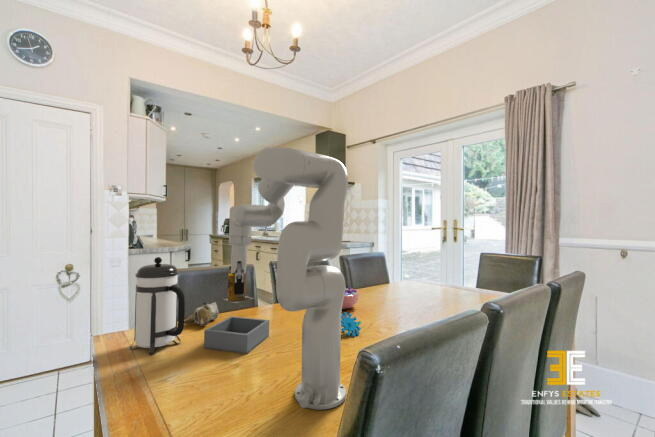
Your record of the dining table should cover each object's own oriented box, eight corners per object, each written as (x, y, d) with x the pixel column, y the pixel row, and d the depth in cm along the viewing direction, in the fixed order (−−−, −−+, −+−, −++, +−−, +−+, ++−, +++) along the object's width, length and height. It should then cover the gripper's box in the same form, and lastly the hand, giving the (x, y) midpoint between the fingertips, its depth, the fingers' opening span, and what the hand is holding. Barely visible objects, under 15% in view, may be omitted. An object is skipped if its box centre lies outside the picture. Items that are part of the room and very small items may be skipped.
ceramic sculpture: (225, 299, 132) (201, 310, 118) (226, 318, 132) (202, 332, 118) (205, 297, 135) (179, 308, 121) (205, 316, 135) (180, 329, 121)
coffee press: (120, 359, 92) (123, 260, 93) (138, 340, 108) (140, 255, 108) (183, 353, 97) (185, 259, 97) (191, 335, 112) (193, 254, 113)
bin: (247, 354, 97) (247, 335, 97) (203, 348, 101) (204, 330, 101) (269, 336, 113) (269, 320, 113) (230, 331, 117) (231, 316, 117)
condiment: (222, 299, 107) (223, 265, 107) (244, 295, 113) (244, 263, 113) (233, 303, 102) (234, 268, 102) (255, 299, 108) (255, 265, 108)
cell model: (365, 306, 157) (366, 284, 157) (347, 315, 140) (347, 291, 140) (337, 301, 166) (337, 280, 166) (316, 309, 149) (317, 286, 149)
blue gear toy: (344, 335, 110) (335, 311, 117) (336, 343, 113) (328, 319, 120) (367, 334, 116) (357, 310, 123) (359, 341, 119) (350, 318, 126)
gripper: (230, 239, 115) (229, 287, 115) (227, 242, 98) (226, 298, 98) (250, 239, 117) (249, 286, 117) (251, 242, 100) (250, 297, 100)
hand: (239, 291), depth 107 cm, fingers closed on condiment, 6 cm apart
